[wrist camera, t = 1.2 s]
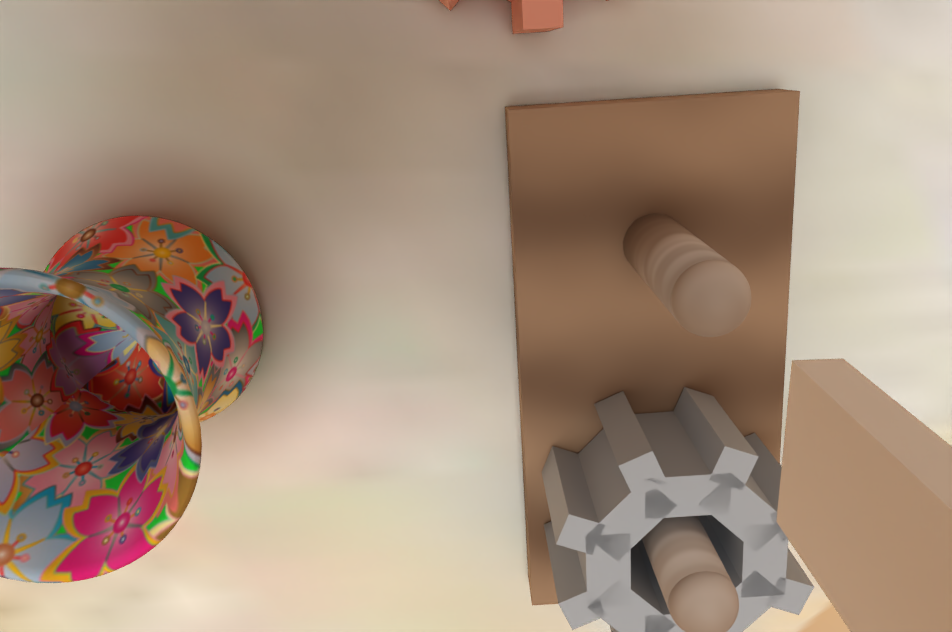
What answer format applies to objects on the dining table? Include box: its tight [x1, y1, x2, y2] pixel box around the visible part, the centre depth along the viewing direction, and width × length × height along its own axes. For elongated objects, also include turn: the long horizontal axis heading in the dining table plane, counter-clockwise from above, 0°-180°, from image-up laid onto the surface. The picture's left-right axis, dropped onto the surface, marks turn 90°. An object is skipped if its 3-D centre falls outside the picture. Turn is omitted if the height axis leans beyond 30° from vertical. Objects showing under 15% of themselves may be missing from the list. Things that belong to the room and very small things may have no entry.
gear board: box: [505, 89, 800, 632], centre depth 28 cm, size 20×10×10 cm, turn 4°
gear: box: [542, 387, 814, 632], centre depth 30 cm, size 9×9×5 cm
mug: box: [0, 216, 263, 583], centre depth 28 cm, size 12×9×11 cm
